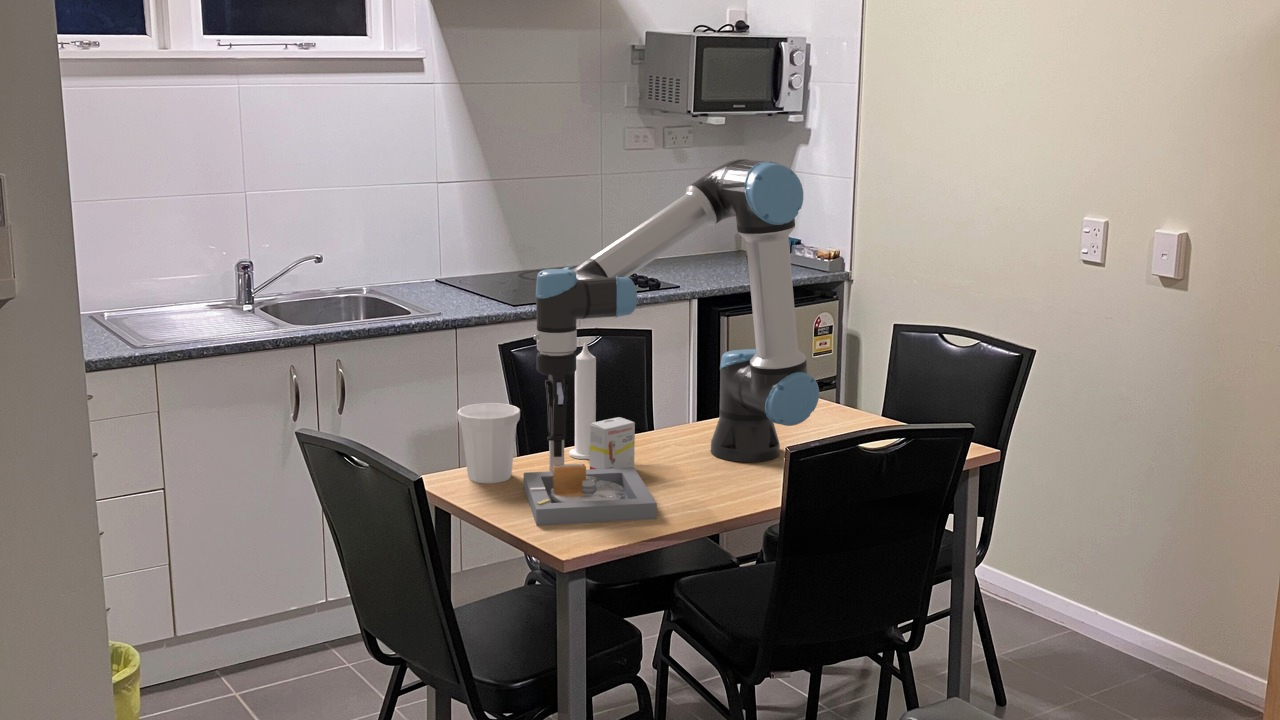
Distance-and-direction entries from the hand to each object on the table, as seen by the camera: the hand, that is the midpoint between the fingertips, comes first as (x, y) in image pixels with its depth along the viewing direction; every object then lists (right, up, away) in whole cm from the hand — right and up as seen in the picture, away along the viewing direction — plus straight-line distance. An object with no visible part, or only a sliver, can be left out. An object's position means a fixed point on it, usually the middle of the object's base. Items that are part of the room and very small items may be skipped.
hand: (556, 471), depth 241 cm
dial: (+6, -6, -4) cm, 9 cm away
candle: (+4, +1, +32) cm, 32 cm away
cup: (-14, -4, +11) cm, 18 cm away
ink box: (+10, -3, +16) cm, 19 cm away
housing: (+6, -7, -4) cm, 10 cm away
